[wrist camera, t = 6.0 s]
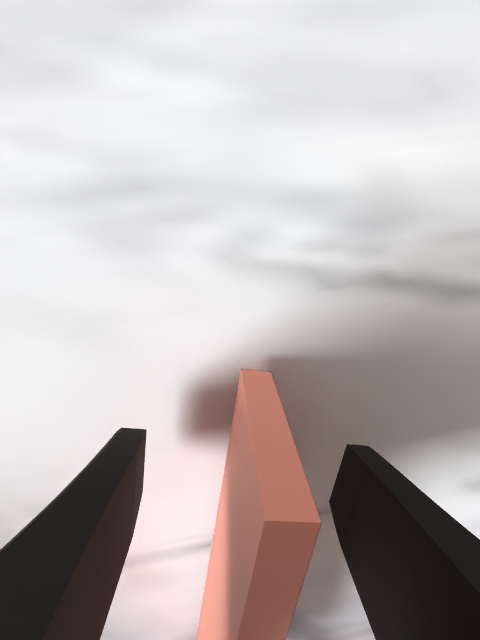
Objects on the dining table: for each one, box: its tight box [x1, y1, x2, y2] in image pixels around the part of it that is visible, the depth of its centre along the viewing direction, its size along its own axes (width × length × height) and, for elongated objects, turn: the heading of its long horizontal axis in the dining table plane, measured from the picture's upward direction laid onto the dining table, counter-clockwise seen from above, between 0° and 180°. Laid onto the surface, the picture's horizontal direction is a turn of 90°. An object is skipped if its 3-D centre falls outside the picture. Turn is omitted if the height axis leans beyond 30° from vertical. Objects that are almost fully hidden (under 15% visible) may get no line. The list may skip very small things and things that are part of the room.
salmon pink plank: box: [196, 369, 321, 640], centre depth 8 cm, size 13×1×4 cm, turn 172°
